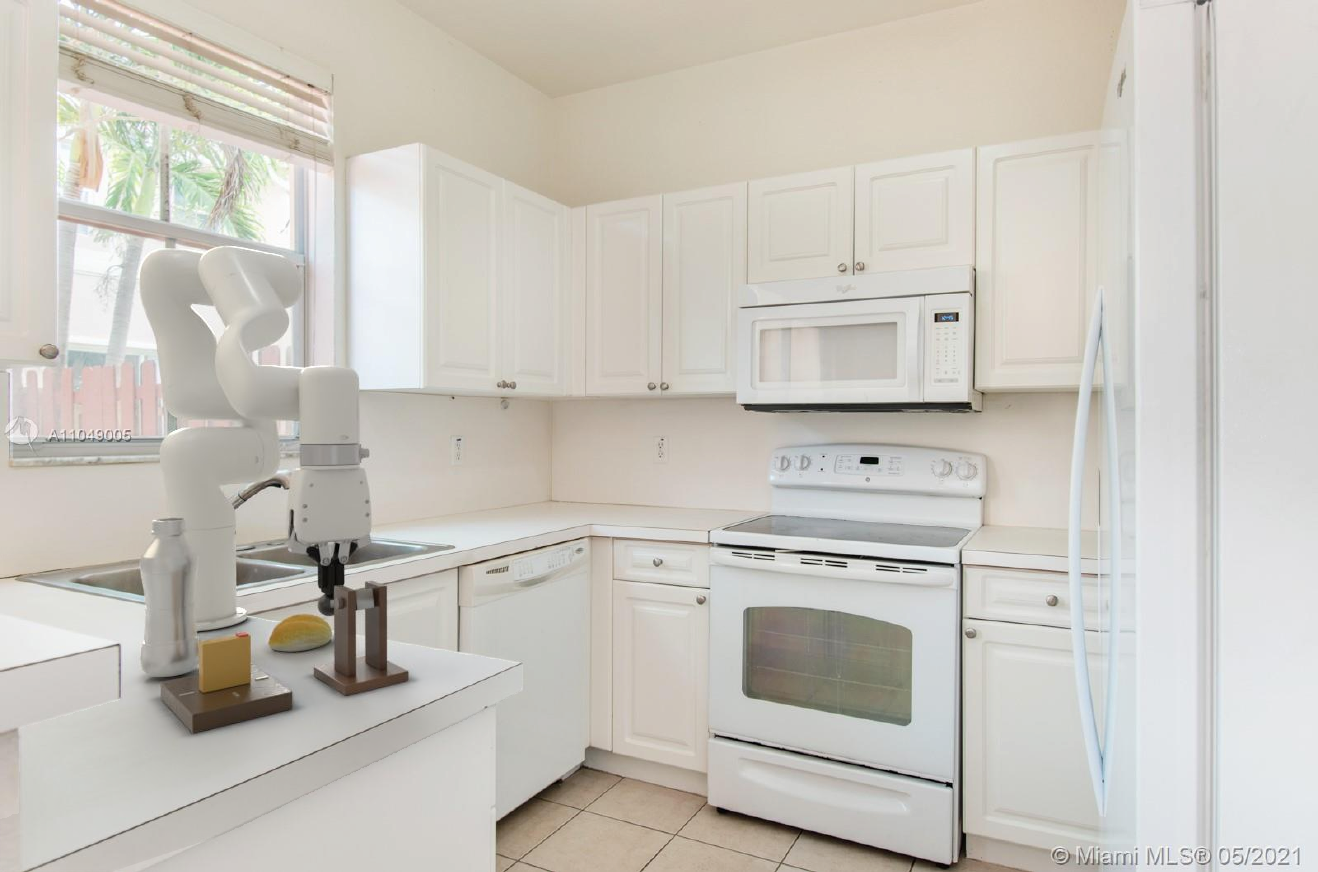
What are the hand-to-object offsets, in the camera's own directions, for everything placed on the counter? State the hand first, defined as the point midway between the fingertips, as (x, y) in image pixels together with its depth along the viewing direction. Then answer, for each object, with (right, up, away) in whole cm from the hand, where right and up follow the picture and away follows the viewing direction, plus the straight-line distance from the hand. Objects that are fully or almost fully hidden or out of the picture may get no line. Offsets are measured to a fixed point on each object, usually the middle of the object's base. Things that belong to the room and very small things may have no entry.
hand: (331, 592), depth 105 cm
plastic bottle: (-18, -10, -6) cm, 21 cm away
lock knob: (-6, -8, -16) cm, 18 cm away
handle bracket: (+7, -10, -7) cm, 13 cm away
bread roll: (-8, -9, +8) cm, 15 cm away
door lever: (+3, -2, -3) cm, 5 cm away
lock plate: (-6, -10, -16) cm, 19 cm away
